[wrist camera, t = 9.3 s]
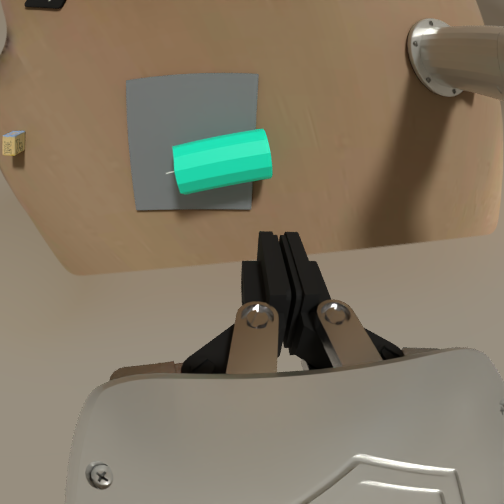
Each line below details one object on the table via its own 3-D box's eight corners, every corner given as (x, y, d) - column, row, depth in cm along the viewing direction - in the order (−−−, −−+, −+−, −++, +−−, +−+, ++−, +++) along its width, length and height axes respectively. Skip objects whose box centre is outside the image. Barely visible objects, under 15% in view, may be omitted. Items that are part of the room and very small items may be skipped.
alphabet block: (26, 130, 27) (14, 135, 25) (25, 150, 29) (14, 156, 26) (13, 130, 27) (1, 135, 24) (13, 149, 28) (1, 155, 26)
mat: (258, 74, 28) (258, 74, 27) (250, 207, 38) (251, 209, 38) (127, 80, 27) (126, 80, 26) (137, 208, 37) (136, 210, 36)
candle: (259, 131, 33) (166, 149, 33) (265, 125, 27) (154, 148, 27) (267, 176, 35) (176, 194, 35) (275, 180, 29) (165, 201, 29)
